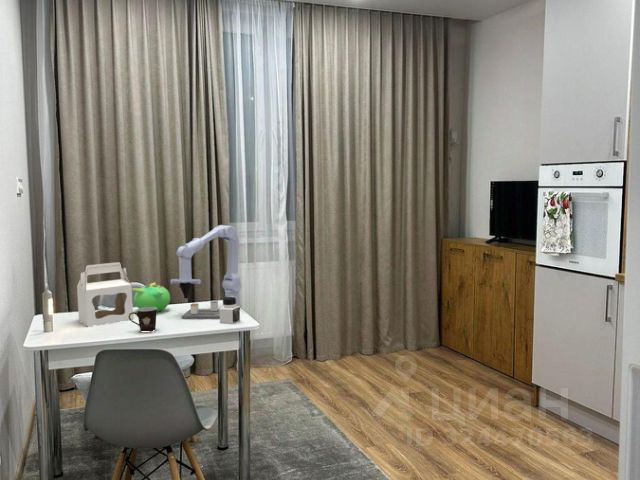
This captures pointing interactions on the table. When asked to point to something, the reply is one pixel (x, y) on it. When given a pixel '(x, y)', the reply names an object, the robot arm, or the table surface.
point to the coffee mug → (146, 318)
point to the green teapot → (152, 297)
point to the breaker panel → (202, 314)
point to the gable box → (104, 288)
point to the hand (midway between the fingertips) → (186, 298)
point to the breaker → (214, 305)
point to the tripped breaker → (194, 309)
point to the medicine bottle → (229, 311)
